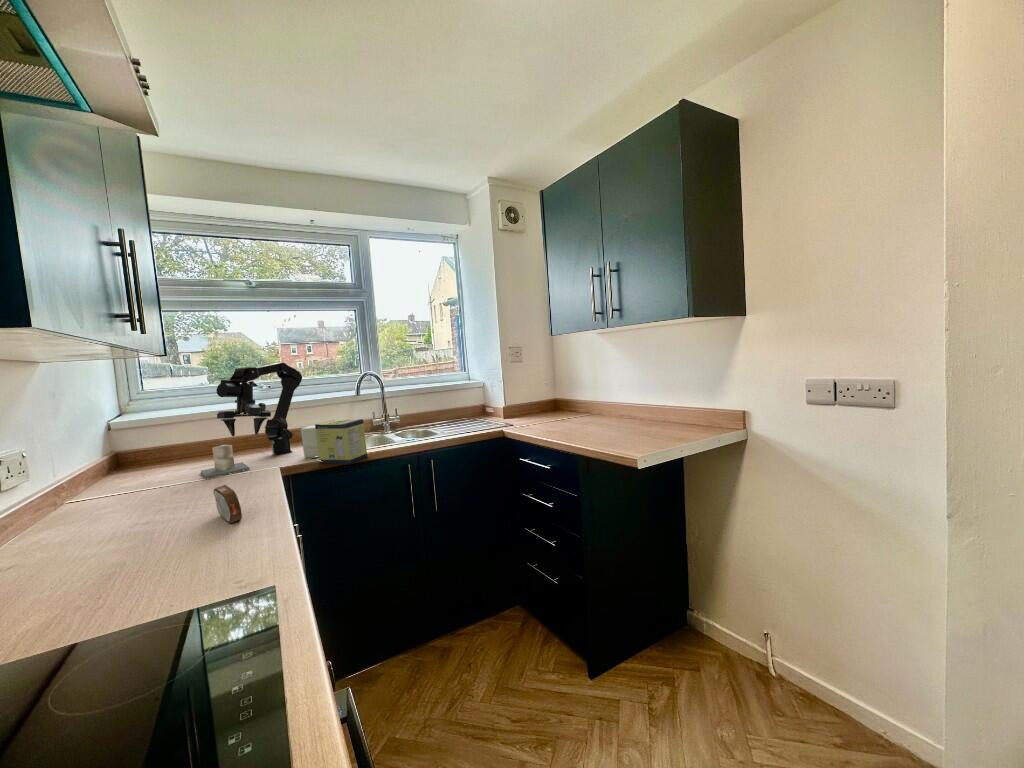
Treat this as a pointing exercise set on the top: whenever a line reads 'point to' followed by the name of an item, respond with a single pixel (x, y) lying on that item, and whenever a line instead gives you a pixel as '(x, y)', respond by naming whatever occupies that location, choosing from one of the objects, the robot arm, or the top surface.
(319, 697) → the top surface
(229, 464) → the cream rectangular block
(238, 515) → the tin
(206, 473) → the rubber mat
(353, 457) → the protein box
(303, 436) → the supplement box
